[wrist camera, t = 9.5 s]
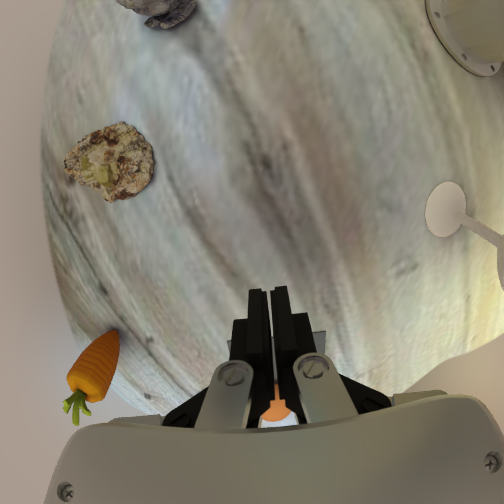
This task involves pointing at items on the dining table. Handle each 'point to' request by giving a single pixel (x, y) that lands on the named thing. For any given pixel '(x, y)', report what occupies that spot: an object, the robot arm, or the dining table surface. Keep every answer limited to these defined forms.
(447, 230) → the champagne flute
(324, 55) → the dining table surface
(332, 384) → the robot arm
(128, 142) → the mineral rock
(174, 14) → the seashell
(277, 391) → the ball
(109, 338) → the carrot
